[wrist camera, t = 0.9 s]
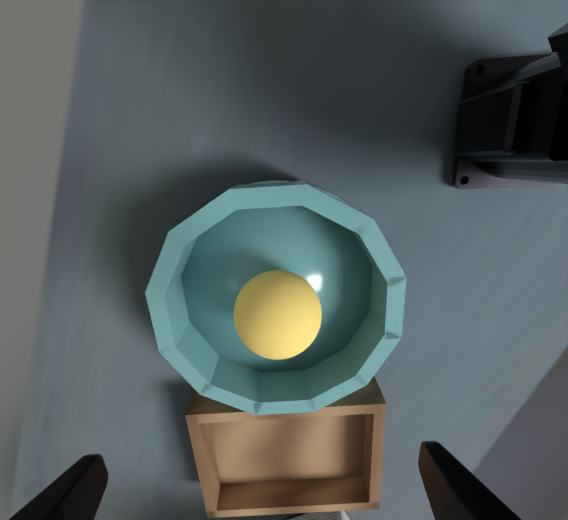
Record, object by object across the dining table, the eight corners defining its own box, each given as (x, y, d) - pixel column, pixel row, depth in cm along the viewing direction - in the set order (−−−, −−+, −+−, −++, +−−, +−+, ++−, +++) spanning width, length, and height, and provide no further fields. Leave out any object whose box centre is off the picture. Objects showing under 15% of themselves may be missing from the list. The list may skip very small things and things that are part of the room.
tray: (374, 376, 22) (386, 403, 19) (369, 475, 25) (379, 508, 23) (195, 386, 22) (184, 415, 20) (214, 483, 25) (207, 518, 23)
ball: (315, 256, 18) (327, 289, 13) (317, 325, 20) (328, 377, 15) (235, 260, 18) (220, 295, 13) (244, 329, 20) (232, 382, 15)
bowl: (391, 172, 17) (417, 175, 14) (380, 371, 22) (397, 408, 19) (149, 188, 17) (119, 194, 14) (189, 383, 22) (174, 421, 19)
